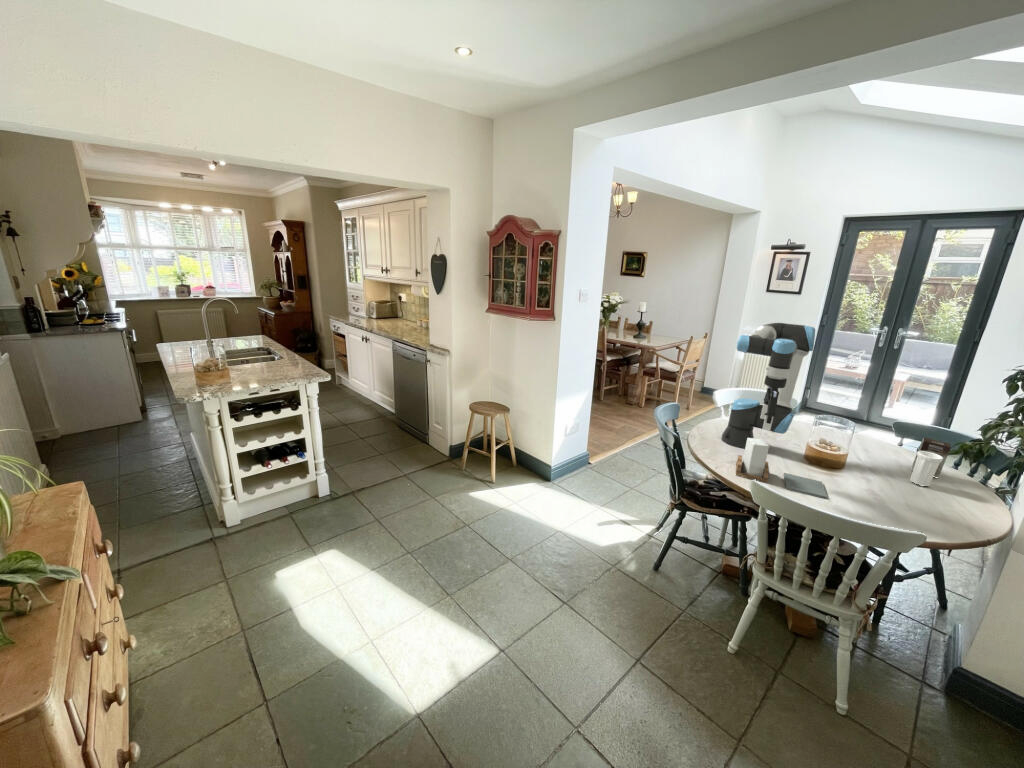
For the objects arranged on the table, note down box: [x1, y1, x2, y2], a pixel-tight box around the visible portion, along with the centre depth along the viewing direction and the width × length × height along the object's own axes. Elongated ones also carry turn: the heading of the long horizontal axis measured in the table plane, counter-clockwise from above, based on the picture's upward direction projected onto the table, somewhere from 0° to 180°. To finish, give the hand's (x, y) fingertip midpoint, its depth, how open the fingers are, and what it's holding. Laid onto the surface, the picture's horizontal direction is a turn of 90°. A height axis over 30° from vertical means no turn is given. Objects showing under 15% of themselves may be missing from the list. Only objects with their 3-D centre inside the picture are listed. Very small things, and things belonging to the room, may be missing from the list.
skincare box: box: [741, 437, 770, 477], centre depth 183 cm, size 8×7×16 cm
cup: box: [909, 450, 943, 486], centre depth 181 cm, size 8×8×14 cm
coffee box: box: [911, 437, 952, 478], centre depth 190 cm, size 9×6×16 cm
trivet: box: [782, 472, 828, 500], centre depth 176 cm, size 14×14×1 cm
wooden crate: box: [735, 454, 770, 484], centre depth 184 cm, size 12×12×5 cm
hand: (764, 424), depth 177 cm, fingers open, 13 cm apart
